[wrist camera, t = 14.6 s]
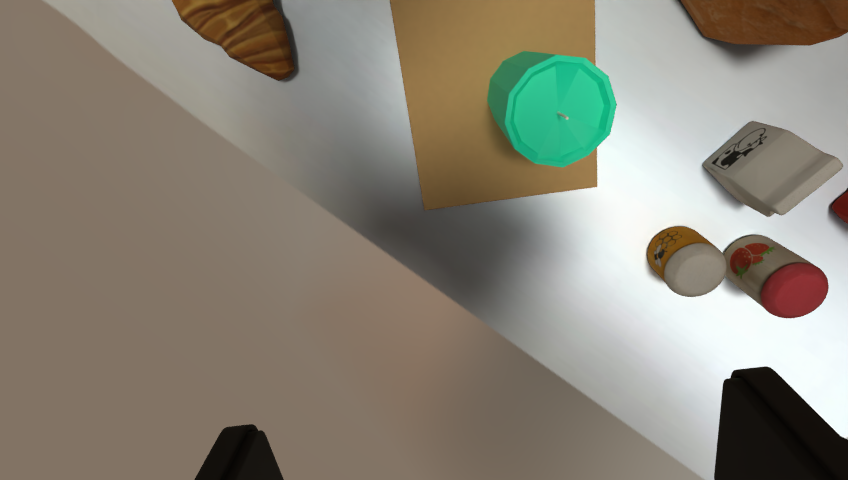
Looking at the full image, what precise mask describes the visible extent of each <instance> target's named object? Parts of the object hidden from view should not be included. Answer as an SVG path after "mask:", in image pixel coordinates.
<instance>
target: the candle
mask: <svg viewBox="0 0 848 480" xmlns="http://www.w3.org/2000/svg"><path fill="white" fill-rule="evenodd" d="M487 102H488V104H489V107H490V109H491V112H492V115H493V117H494V120H495V121H496V123H497V124H498V126H499V127H500V129H501V130H502V131H503V133H504V134H505V136H506V137H507V139H508V140H509V142H510V143H511V145H512V146H513V148H514V149H515V150H517V151H518V152H519V153H521V154H522V155H524V156H525V157H526V158H528V159H529V160H531V161H532V162H533V163H535V164H542V165H549V166H556V167H565V166H567V165H569V164H572V163H574V162H576V161H578V160H580V159H582V158H584V157H586V156H588V155H589V154H590V153H591V152H592V151H593V150H594V149H595V148H596V147H597V146H598V145H599V144H600V143H601V142H602V141H603V140H604V139H605V138H606V137H607V136H608V135H609V134H610V132H611V127H612V123H613V118H614V114H615V109H616V105H617V104H616V101H615V97H614V94H613V91H612V87H611V84H610V81H609V77H608V76H607V75H606V74H605V73H603V72H602V71H601V70H600V69H599V68H597V67H596V66H595V65H594V64H592V63H591V62H590V61H589V60H587V59H586V58H583V57H574V56H565V55H557V54H548V53H539V52H529V51H523V52H520V53H518V54H516V55H514V56H512V57H510V58H508V59H506V60H504V61H503V62H502V63H501V65H500V66H499V67H498V69H497V70H496V71H495V73H494V74H493V76H492V77H491V78H490V83H489V90H488V97H487Z"/></svg>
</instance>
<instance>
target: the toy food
mask: <svg viewBox="0 0 848 480" xmlns="http://www.w3.org/2000/svg"><path fill="white" fill-rule="evenodd" d="M703 166H704V167H705V168H706V169H707V170H708V171H709V172H710V173H711V174H712V175H713V176H714V177H715V178H716V179H717V180H718V181H719V182H720V183H721V184H722V185H723V186H724V187H725V188H726V190H727V191H728V192H729V193H730V194H731V195H732V196H733V197H734V198H735V199H737V200H738V201H740V202H742V203H743V204H745V205H747V206H749V207H751V208H753V209H754V210H756V211H758V212H760V213H761V214H764V215H765V216H767V217H768V216H771V215H773V214H774V213H777V214H779V215H784V214H786V213H787V212H788V211H790V210H791V209H792V208H794V207H795V206H796V205H797V204H799V203H800V202H801V201H802V200H804V199H805V198H806V197H807V196H809V195H810V194H811V193H812V192H814V191H815V190H816V189H817V188H819V187H820V186H821V185H822V184H824V183H825V182H826V181H827V180H829V179H830V178H831V177H832V176H834V175H835V174H836V173H837V172H838V171H840V170H841V169H842V167H843V164H842V163H841V161H840V160H839V159H838V158H836V157H834V156H832V155H829V154H826V153H824V152H822V151H820V150H818V149H817V148H815V147H813V146H812V145H810V144H809V143H807V142H806V141H804V140H803V139H801V138H800V137H798V136H796V135H795V134H793V133H792V132H790V131H788V130H785V129H781V128H778V127H774V126H770V125H767V124H763V123H759V122H754V121H752V122H750V123H748V124H747V125H746V126H744V127H743V128H742V129H741V130H740V131H739V132H738V133H736V134H735V135H734V136H733V137H732V138H731V139H730V140H729V141H728V142H726V143H725V144H724V145H723V146H722V147H721V148H720V149H718V150H717V151H716V152H715V153H714V154H713V155H712V156H711V157H709V158H708V159H707V160H706V161H705V162H704V163H703ZM832 209H833V211H834V212H835V213H836V214H837V215H838V216H839V217H840V218H841V219H842V220H843V221H844V222H845V223H847V224H848V191H847V192H846V193H844V194H843V195H842V196H841V197H840V198H838V199H837V200H836V201H835V202H834V204H833V206H832ZM647 256H648V261H649V263H650V266H651V267H652V268H653V269H654V271H655V272H656V273H657V274H658V275H659V276H660V277H661V278H662V279H663V280H664V281H665V282H666V284H667V286H668V287H669V288H670V289H671V290H672V291H673V292H675V293H677V294H679V295H682V296H687V297H696V296H701V295H704V294H707V293H709V292H711V291H712V290H714V289H715V288H716V287H717V286H718V285H719V284H720V283H721V281H722V280H723V278H724V276H726V277H727V278H728V279H729V280H730V281H731V282H733V283H734V284H735V285H736V286H737V287H739V288H740V289H741V290H742V291H744V292H745V293H746V294H747V295H749V296H750V297H751V298H752V299H754V300H755V301H756V302H757V303H759V304H760V305H761V306H762V307H764V308H765V309H766V310H767V311H768V312H769V313H771V314H773V315H775V316H778V317H782V318H796V317H801V316H804V315H806V314H809V313H810V312H812V311H814V310H815V309H816V308H818V307H819V306H820V305H821V304H822V302H823V301H824V299H825V298H826V295H827V293H828V280H827V277H826V275H825V274H824V272H823V271H822V270H821V269H820V268H818V267H816V266H815V265H813V264H812V263H810V262H808V261H807V260H805V259H804V258H802V257H800V256H799V255H797V254H795V253H794V252H792V251H790V250H788V249H787V248H785V247H783V246H782V245H780V244H778V243H777V242H775V241H773V240H772V239H770V238H768V237H765V236H761V235H752V236H747V237H744V238H741V239H739V240H737V241H736V242H734V243H733V244H732V245H731V246H730V247H729V248H728V249H727V250H726V252H725V254H724V255H723V254H722V252H721V251H720V250H719V249H718V248H716V247H715V246H714V245H713V244H712V243H710V242H709V241H708V240H707V239H705V238H704V237H703V236H702V235H700V234H699V233H698V232H696V231H695V230H693V229H691V228H687V227H673V228H669V229H667V230H664V231H663V232H661V233H659V234H658V235H657V236H656V237H655V238H654V239H653V240H652V242H651V243H650V245H649V248H648V255H647Z"/></svg>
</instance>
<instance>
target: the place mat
mask: <svg viewBox="0 0 848 480" xmlns="http://www.w3.org/2000/svg"><path fill="white" fill-rule="evenodd" d="M390 4H391V10H392V16H393V22H394V28H395V34H396V40H397V46H398V53H399V59H400V65H401V71H402V77H403V83H404V89H405V95H406V101H407V107H408V113H409V119H410V125H411V131H412V138H413V144H414V150H415V156H416V162H417V168H418V174H419V180H420V186H421V192H422V198H423V204H424V210H431V209H438V208H445V207H453V206H460V205H467V204H475V203H482V202H489V201H497V200H504V199H511V198H518V197H526V196H533V195H540V194H548V193H555V192H562V191H570V190H577V189H584V188H591V187H597V147H596V148H595V149H594V150H593V151H592V152H591V153H590V154H589V155H588V156H586V157H584V158H582V159H580V160H578V161H576V162H574V163H572V164H569V165H567V166H565V167H556V166H549V165H542V164H535V163H533V162H532V161H531V160H529V159H528V158H526V157H525V156H524V155H522V154H521V153H519V152H518V151H517V150H515V149H514V148H513V146H512V145H511V143H510V142H509V140H508V139H507V137H506V136H505V134H504V133H503V131H502V130H501V129H500V127H499V126H498V124H497V123H496V121H495V120H494V117H493V115H492V112H491V109H490V107H489V104H488V102H487V97H488V90H489V83H490V78H491V77H492V76H493V74H494V73H495V71H496V70H497V69H498V67H499V66H500V65H501V63H502V62H503V61H504V60H506V59H508V58H510V57H512V56H514V55H516V54H518V53H520V52H523V51H529V52H539V53H548V54H557V55H565V56H574V57H583V58H586V59H587V60H589V61H590V62H591V63H592V64H594V65H595V0H390Z"/></svg>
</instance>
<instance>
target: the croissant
mask: <svg viewBox="0 0 848 480" xmlns="http://www.w3.org/2000/svg"><path fill="white" fill-rule="evenodd" d="M172 2H173V4H174V5H175V7H176V9H177V11H178V14H179V16H180V18H181V20H182V21H184V22H185V23H186V24H187V25H188V26H189V27H191V28H192V29H193V30H194V31H195V32H197V33H198V34H199V35H200V36H201V37H202V38H204V39H205V40H207V41H210V42H212V43H215V44H217V45H220V46H221V47H222V48H223V49H224V51H225V52H226V53H227V54H228V55H229V57H231V58H233V59H235V60H237V61H239V62H241V63H243V64H245V65H247V66H249V67H250V68H252V69H254V70H256V71H258V72H261V73H263V74H265V75H267V76H269V77H271V78H273V79H276V80H278V81H280V80H282V79H285V78H288V77H289V75H290V74H291V73H292V71H293V70H294V64H293V60H292V55H291V49H290V45H289V41H288V37H287V33H286V29H285V25H284V21H283V18H282V16H281V14H280V13H279V12H278V10H277V9H276V8H275V6H274V4H273V0H172Z"/></svg>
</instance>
